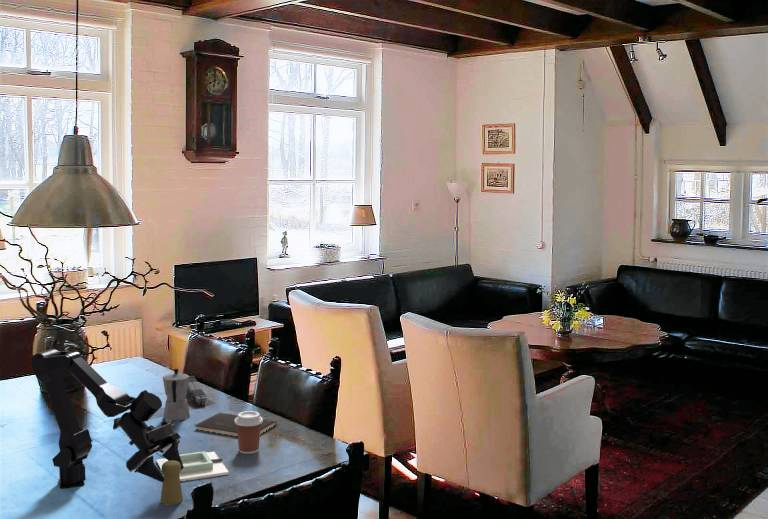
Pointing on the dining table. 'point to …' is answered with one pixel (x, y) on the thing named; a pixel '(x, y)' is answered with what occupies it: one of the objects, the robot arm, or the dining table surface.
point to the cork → (171, 483)
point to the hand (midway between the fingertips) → (173, 474)
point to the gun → (196, 391)
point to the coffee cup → (248, 431)
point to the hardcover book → (228, 424)
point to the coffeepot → (176, 396)
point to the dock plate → (199, 465)
